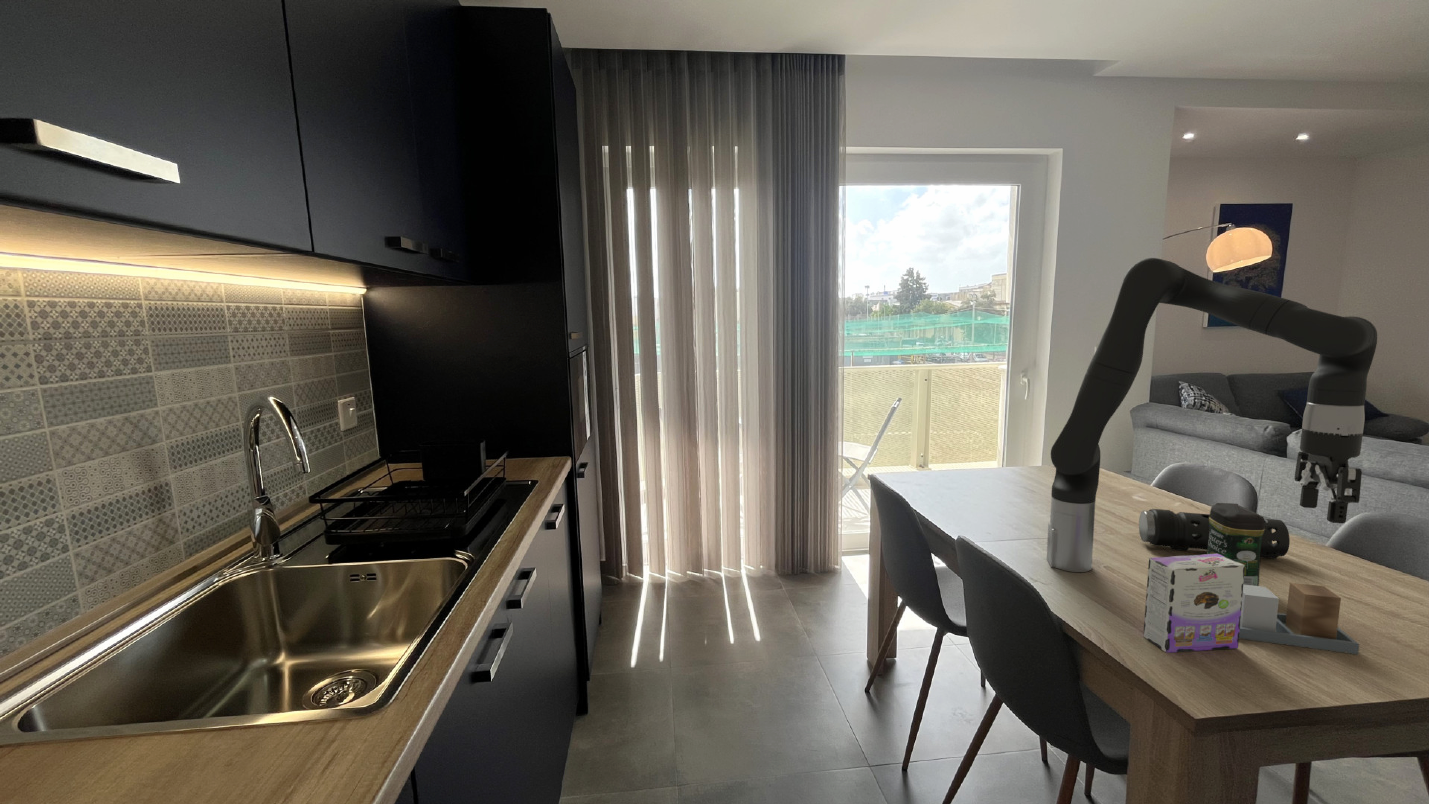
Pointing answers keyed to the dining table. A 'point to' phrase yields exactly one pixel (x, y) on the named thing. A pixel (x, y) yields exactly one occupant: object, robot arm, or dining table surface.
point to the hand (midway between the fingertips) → (1321, 514)
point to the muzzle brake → (1202, 532)
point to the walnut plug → (1312, 611)
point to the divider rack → (1281, 624)
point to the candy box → (1193, 602)
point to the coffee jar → (1237, 537)
